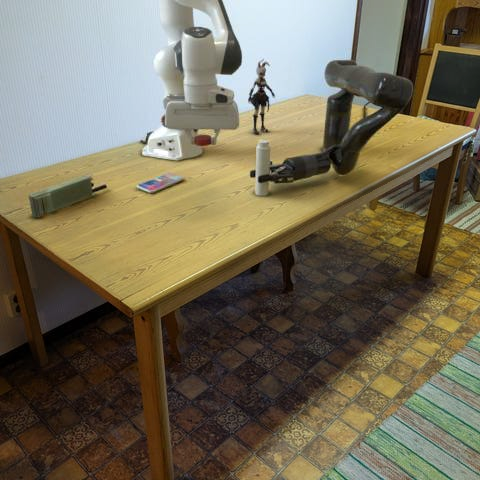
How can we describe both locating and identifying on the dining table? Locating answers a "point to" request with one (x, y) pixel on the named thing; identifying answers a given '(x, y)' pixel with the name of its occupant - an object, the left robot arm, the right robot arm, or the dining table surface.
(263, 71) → the figurine
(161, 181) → the smartphone
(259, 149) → the white bottle
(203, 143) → the lid
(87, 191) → the handheld radio
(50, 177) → the dining table surface
